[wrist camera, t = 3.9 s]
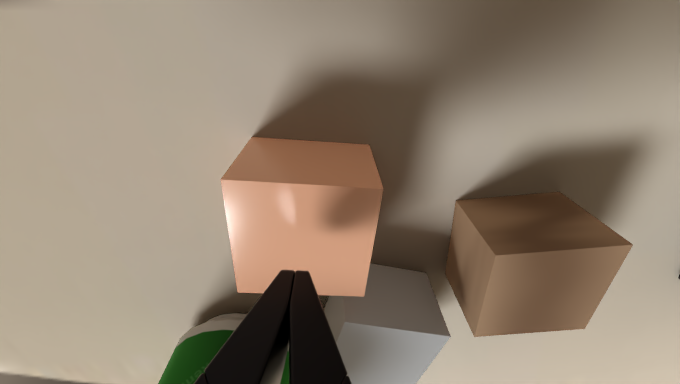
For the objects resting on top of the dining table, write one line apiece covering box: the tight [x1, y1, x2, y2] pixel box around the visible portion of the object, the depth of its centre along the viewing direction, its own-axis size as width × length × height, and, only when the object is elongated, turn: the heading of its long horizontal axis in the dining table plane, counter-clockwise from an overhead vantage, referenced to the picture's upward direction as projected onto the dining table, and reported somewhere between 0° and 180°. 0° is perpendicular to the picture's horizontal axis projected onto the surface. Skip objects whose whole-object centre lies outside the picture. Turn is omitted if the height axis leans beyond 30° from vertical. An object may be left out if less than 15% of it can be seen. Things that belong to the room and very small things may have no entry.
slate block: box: [324, 263, 451, 384], centre depth 15 cm, size 5×5×4 cm
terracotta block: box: [221, 137, 383, 297], centre depth 12 cm, size 5×5×4 cm
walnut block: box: [445, 192, 633, 337], centre depth 13 cm, size 5×5×4 cm
